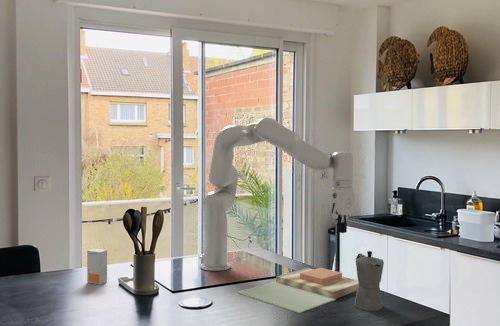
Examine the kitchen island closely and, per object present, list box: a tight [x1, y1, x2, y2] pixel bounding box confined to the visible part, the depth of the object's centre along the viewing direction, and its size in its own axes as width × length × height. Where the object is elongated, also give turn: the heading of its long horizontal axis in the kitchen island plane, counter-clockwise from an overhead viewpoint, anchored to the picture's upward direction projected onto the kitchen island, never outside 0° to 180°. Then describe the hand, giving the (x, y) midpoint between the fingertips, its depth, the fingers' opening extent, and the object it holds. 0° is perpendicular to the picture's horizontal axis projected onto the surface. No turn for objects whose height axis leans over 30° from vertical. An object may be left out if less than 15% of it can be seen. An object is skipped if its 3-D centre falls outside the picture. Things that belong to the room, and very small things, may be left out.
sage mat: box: [236, 280, 337, 314], centre depth 177 cm, size 28×19×1 cm
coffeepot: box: [354, 250, 385, 312], centre depth 169 cm, size 15×9×18 cm, turn 13°
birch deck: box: [275, 267, 358, 300], centre depth 190 cm, size 26×18×2 cm
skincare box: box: [86, 248, 108, 285], centre depth 191 cm, size 6×4×12 cm
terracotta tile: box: [300, 267, 343, 284], centre depth 191 cm, size 10×12×2 cm
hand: (341, 232), depth 198 cm, fingers closed
